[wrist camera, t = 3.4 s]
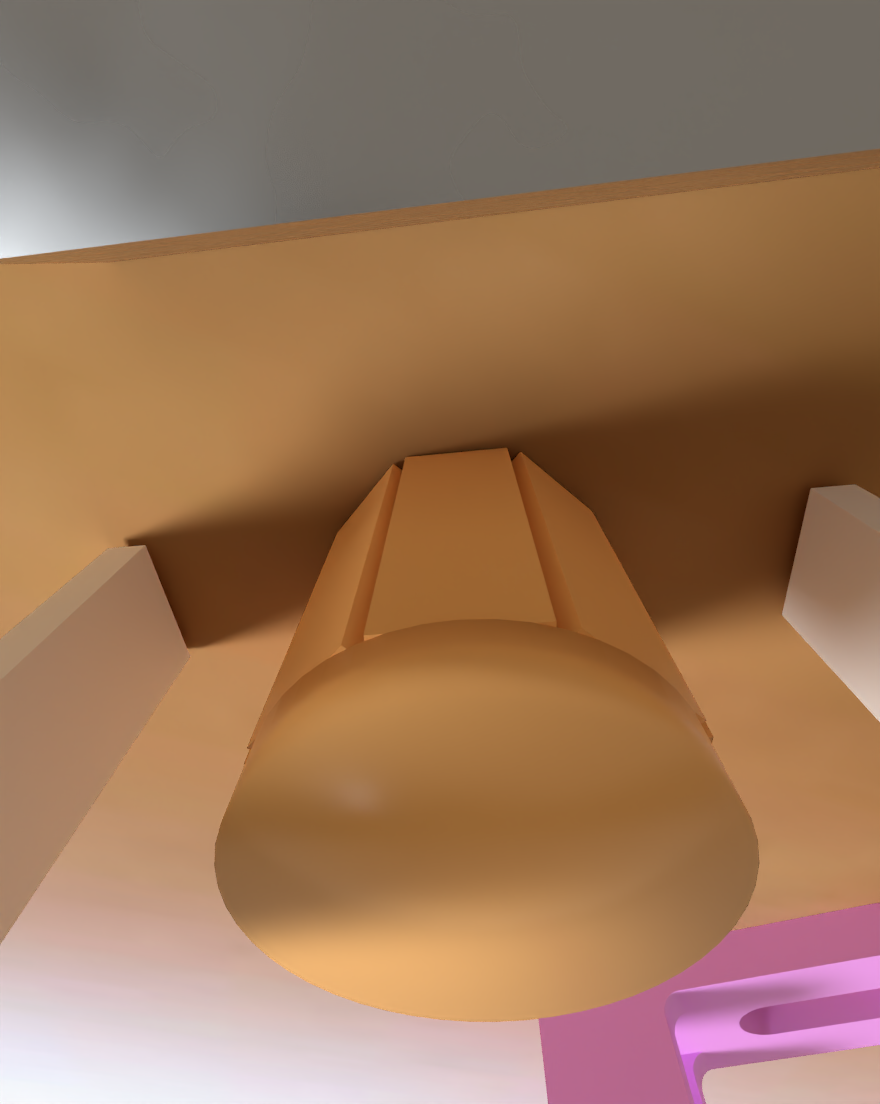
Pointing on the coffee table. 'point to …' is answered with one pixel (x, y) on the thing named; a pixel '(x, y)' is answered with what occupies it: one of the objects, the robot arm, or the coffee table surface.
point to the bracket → (725, 1013)
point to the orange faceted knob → (481, 766)
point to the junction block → (405, 112)
